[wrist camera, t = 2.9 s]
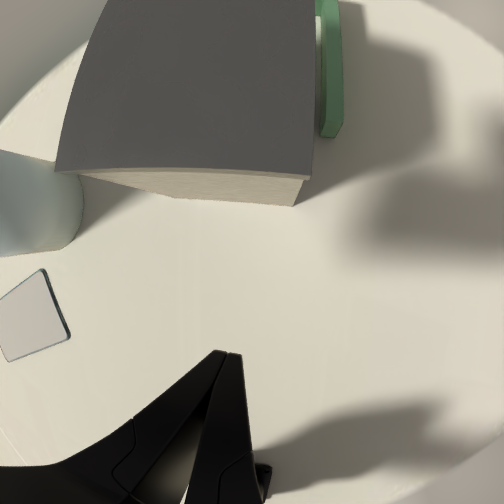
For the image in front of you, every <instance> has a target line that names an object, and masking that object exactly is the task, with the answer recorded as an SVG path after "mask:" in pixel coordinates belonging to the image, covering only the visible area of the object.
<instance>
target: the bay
mask: <svg viewBox="0 0 504 504" xmlns="http://www.w3.org/2000/svg"><path fill="white" fill-rule="evenodd" d="M315 16H321V55H322V78H321V123H320V136H323V137H330V138H335V136H336V135H337V133H338V131H339V129H340V127H341V126H342V124H343V70H342V47H341V31H340V19H339V8H338V0H315Z"/></svg>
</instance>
